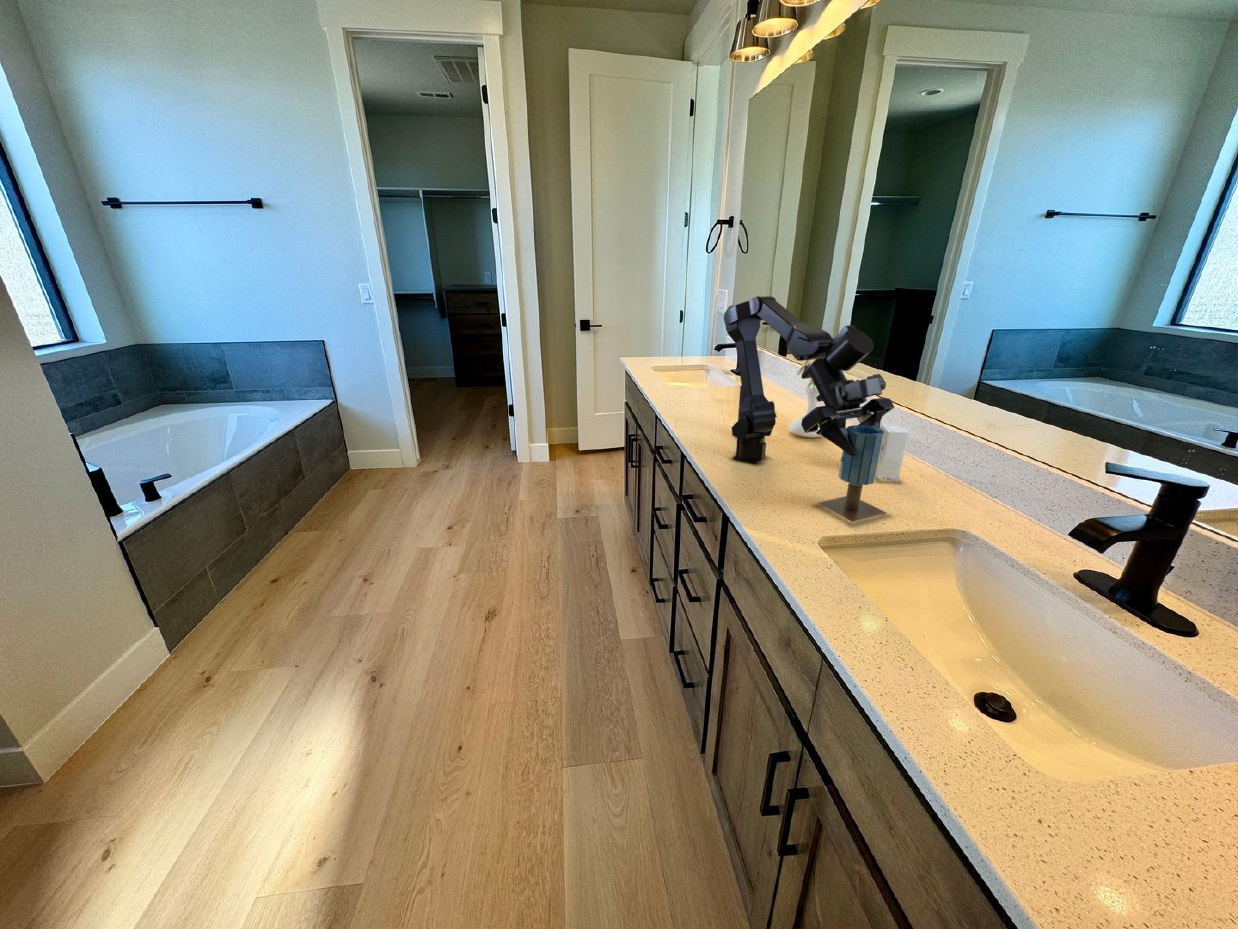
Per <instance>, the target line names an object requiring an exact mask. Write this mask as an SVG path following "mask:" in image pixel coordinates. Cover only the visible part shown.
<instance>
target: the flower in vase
mask: <svg viewBox="0 0 1238 929" xmlns="http://www.w3.org/2000/svg"><path fill="white" fill-rule="evenodd" d="M811 361H812V360H804V363H802V365H801V367H800V368H799V369H798V371H797V372H796V376H800V375H802V373H803V371H804V367H805V366H806V365H811ZM812 385H813V386H812ZM804 391H805V393H806V395H807V408H806V412H805V413H804V414H803V415H802V416H800V417H799V418H797V419H796V420H794V421H793V422H791V423H789V426H788V430H789V432H790V433H792V434H794V435H796V436H799V437H804V438H820V437H822V438H823V436H822V435H817V434H816V432H817V431H818V430H820V428H819V427H818V430H817V431H815V432H809V433H805V431H804V429H803V427H802V425H801V424H802V419H803V418H804V417H805V416H806V415H807V414H808V413H809V412H811V411H812V410H813V409H814V408H815V407H817V403H818V401H817V399H816V397H817V396H818V395H820V394H819V392H818V390H817V388H816V386H815V384H814V382H813V380H812V378H809V383H808V385H807V386H806V387H805V388H804ZM818 425H819V424H818Z"/></svg>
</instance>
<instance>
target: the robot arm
mask: <svg viewBox="0 0 1238 929" xmlns="http://www.w3.org/2000/svg"><path fill="white" fill-rule="evenodd" d="M761 321H764V323H766V324H767V325H768V326H769V327H771V328H772V329H773V330H774V331H775V332H776V333H778V334H779V336H781V337H782V338H783V339H784V340H785V341H786V348H787V350H788V351H789V353H790V354H791V355H792V356H793V358H794V359H795V360H796V361H798V362H799V361H800V362H803V361H804V362H805V361H806V360H811V361H812V360H813V362H812V363H810V365H806V366H805V367H804V370H803V371H802V372H801V375H800V376H801V379H802V380H805V379H811V378H812V380H813V382H814V384H815V388H817V390H818V392H819V394H820V395H818V396H817V397H816V399H817V403H819V402H823V404H824V405H820V406H819V405H818V406H816V407H815V408H814V409H813V410H812V411H811V412H809V413H808V414H807V415H806V416H805V417H804V418H803V419H802V424H801V425H802V427H803V429H804V431H805V433H809V432H815V431H817V430H818V427H819V428H820V430H818V431H817V432H816V434H817V435H822V438H825V439H827V440H828V441H829V442H831V443H832V444H833V445H835V446H837V447H838V448H839V449H841V450H842V452H843V451H845V452H846V453H847V454H849V455H850V456H855V455H856V450H855V447H854V445H853V443H852V441H851V438H850V436H849V434H848V432H847V429H846V428H847V420H849V419H850V420H851V419H857V421H858V423H859V424H858V425H864V426H865V425H866V426H872V427H876V428H879V429H881V422H882V419H883V417H884V416H885V415H886V414H888V413H889V412H890V411H892V410H893V409H894V408H895V405H894V403H893V401H892V400H891V398H888V397H884V396H883V397H877V398H872V399H870V400H869V401H868V399H867V398H869V397H873V396H881V395H883V391H885V390H886V387H887V382H886V380H885V379H884V378H883V376H882V374H880V373H877V374H872V375H868V376H867V377H866V378H864V379H859V380H856V381H855V380H854V379H847V377H846V375H845V373H844V372H848V371H851V370H852V369H853V368H854V367H855V366H857V364H859V363H860V362H861V361H862V360H863V359H864V358H865V357H867V356H868V355H869V354H870V353H871V352H872V351H873V350H874V343H873V340H872V338H871V337H870V336H868V335H867V334H866V333H864V332H863V331H861V330H859V329H857V328H856V327H855V325H854V324H851V325H844V326H843V327H842V329H841V330H840V331H839V333H838V334H837V335H836V336H835V337H832V336H831V333H829V332H828V331H826V330H824V329H822V328H820V327H818V326H814V325H811V324H807V323H805V322H803V321H801V320H800V319H799V318H798V317H797V316H795V315H794V314H793V313H791V312H790V311H789V310H788V309H787V308H785V307H784V306H783V305H782V304H780V303H779V302H778V301H777V300H776V298H775V297H774V296H772V295H757V296H754V297H752V298H750V299H749V300H746V301H743V302H741V303H738V304H731V305H729V306H728V307H727V309H726V310H725V311H724V313H723V322H724V326H725V330H726V333H727V335H728V336H729V337H730V338H731V340H732V341H733V342H734V344H735V350H736V351H735V352H736V357H737V363H738V364H737V365H738V372H739V377H740V383H741V385H742V391H743V397H744V400H743V403H742V405H741V408H740V410H739V409H738V411H739V420H738V419H737V421H736V422H735V423H734V424H733V425H732V426H731V435H732V436H733V437H735V438H736V446H735V455H734V456H733V457H732V459H733V460H736V461H741V462H744V463H750V464H754V465H756V464H757V465H758V464H759V463H760V462H761V461H763V460H764V459H766V450H767V442H766V437H771V435H772V432H773V430H774V427H775V425H776V421H777V420H776V418H778V416H777V413H776V406H775V402H774V401H773V400H770V401H769V400H768V398H766V396H765V392H764V385H763V380H762V372H761V365H760V359H759V352H758V345H757V337H758V333H759V332H760V329H761ZM867 401H868V402H867ZM862 404H864V405H862ZM861 405H862V406H861ZM818 424H819V425H818ZM882 449H883V447H882V448H881V450H882Z"/></svg>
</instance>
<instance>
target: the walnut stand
mask: <svg viewBox="0 0 1238 929" xmlns="http://www.w3.org/2000/svg"><path fill="white" fill-rule="evenodd" d="M863 486H864V485H858V484H852V483H849V482H848V483H847V489H846V495H845V496H842V497H837V498H833V499H829V500H825V501H820V502H817V504H818V505H820V506H822V507H824V508H826V509H828V510H830V511H832V512H834V514H837V515H839V516H841V517H843V518H845V519H847V520H848V521H850V522H852V523H853V522H857V521H861V520H865V519H869V518H873V517H877V516H880V515H885V514H887V512H886V511H884V510H882V509H880V508H878V507H876V506H873V505H872V504H869V503H867V502H866V501H863V500H861V498H862V492H863Z"/></svg>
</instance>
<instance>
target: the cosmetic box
mask: <svg viewBox="0 0 1238 929" xmlns="http://www.w3.org/2000/svg"><path fill="white" fill-rule="evenodd" d="M880 429H882V430H883V431H884V437H883V443H882V447H883V449H882V450H881V453H880V458H879V463H878V469H877V474H876V478H877V479H879V480H888V481H892V482H897V483H898V482H899V480H900V475H901V470H902V465H903V461H904V456H905V452H906V451H905V450H906V447H907V443H908V436H909V432H908V431H906V430H905V428H903V427H902V426H901V425H892V424H891V425H890V424H880Z"/></svg>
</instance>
